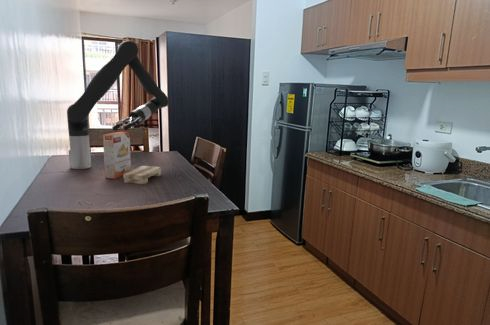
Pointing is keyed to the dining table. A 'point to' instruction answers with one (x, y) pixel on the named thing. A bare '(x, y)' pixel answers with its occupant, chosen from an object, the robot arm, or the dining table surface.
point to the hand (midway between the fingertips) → (118, 128)
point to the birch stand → (141, 174)
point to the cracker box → (116, 154)
